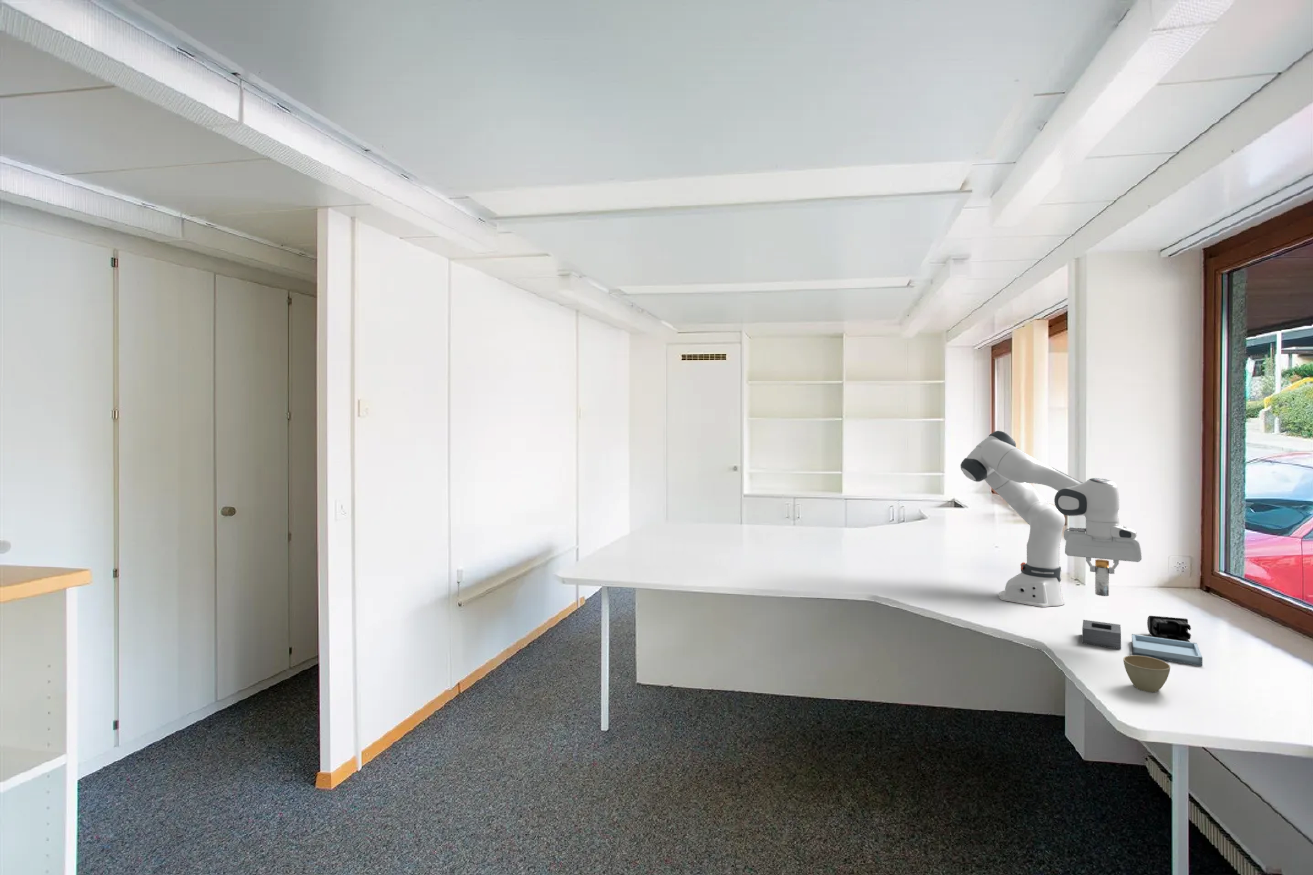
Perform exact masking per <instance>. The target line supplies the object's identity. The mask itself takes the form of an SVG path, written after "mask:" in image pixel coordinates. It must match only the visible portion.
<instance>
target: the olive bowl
mask: <svg viewBox="0 0 1313 875" xmlns="http://www.w3.org/2000/svg"><path fill="white" fill-rule="evenodd" d="M1123 665H1124V669H1125V672H1126V674H1127V677H1128V679H1129V680H1130V681H1131V683H1132V685H1133V686H1134V688H1136V689H1137V690H1139V691H1143V692H1146V693H1157V692H1159V691H1160V690H1161V689H1162V688H1163V687H1164V685H1165V684H1166V682H1167V679H1168V678H1169V674H1170V671H1171V665H1170V664H1169V663H1168V662H1166V661H1165V660H1160V659H1156V658H1152V657H1147V656H1139V655H1133V654H1130V655H1125V656H1124V657H1123Z"/></svg>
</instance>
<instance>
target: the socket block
mask: <svg viewBox="0 0 1313 875" xmlns="http://www.w3.org/2000/svg"><path fill="white" fill-rule="evenodd" d="M1081 629H1082V631H1081V632H1082V635H1081V637H1082V640H1081V641H1082V644H1083V645H1090V646H1096V647H1097V646H1098V647H1102V648H1110V649H1116V650H1121V649H1122V631H1121V630H1122V629H1121V624H1118V623H1111V622H1104V621H1096V620H1088V619H1082V628H1081Z"/></svg>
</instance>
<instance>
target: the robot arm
mask: <svg viewBox="0 0 1313 875" xmlns="http://www.w3.org/2000/svg"><path fill="white" fill-rule="evenodd" d="M959 467H960V470H961V472H962V474H963V475H964V476H965V477H966V478H968V479H970V480H972V481H973V482H976V483H978V482H982V481H985V482H986V484H988V486H989V487H990V488H992V490H993V491H994V492H995V493H997V494H998V495H999V496H1000V498H1002V499H1003V500H1004V501H1005V502H1006V503H1007V504H1008V505H1009V506H1010V507H1011V508H1012V509H1013V511H1015V512H1016V513H1017V515H1019V516H1020V517H1021V518H1022V520H1023V521H1025V523H1026V524H1028V525H1029V526H1030V527H1029V535H1028V540H1027V542H1026V562H1024V561H1023V562H1021V563H1020V573H1018V574H1016V575H1015V576H1013V577H1011V578H1009V579H1008V580H1007V582H1006V583H1005V587H1004V590H1002V591H1000V592H999V593H998V599H1000V600H1001V601H1007V602H1010V603H1011V602H1012V603H1017V604H1022V605H1024V604H1025V605H1027V606H1028V605H1029V606H1035V607H1038V608H1039V607H1040V608H1045V607H1046V608H1047V607H1058V606H1063V605H1065V604H1066V602H1065V599H1064V596H1063V593H1062V586H1061V585H1062V584H1061V580H1062V567H1061V564H1060V563H1061V562H1060V560H1061V559H1060V558H1061V557H1060V556H1061V555H1060V554H1061V553H1060V552H1061V551H1060V550H1061V542H1062V537H1063V538H1064V540H1065V546H1064V554H1065V555H1067V556H1068V557H1077V558H1085V562H1086V563H1087V565H1088V566H1089V572H1091V573H1095V565H1093V564H1092V563H1091V561H1092V559H1102V560H1108V561H1112V562H1113V564H1112V566H1109V575H1115V569H1116V568H1117V567H1118V566H1119V564H1120V563H1119V562H1120V561H1121V562H1132V563H1139V562H1141V561H1142V548H1141V545H1140V541H1139V539H1138V538H1137V536H1138V535H1137V532H1136V530H1135V529H1134V528H1130V527H1127V526H1124V525H1121V524H1120V519H1119V514H1118V513H1119V510H1120V494H1119V488H1118V486H1117V484H1116V483H1115V482H1114V481H1112V480H1109V479H1106V478H1097V477H1092V478H1088V479H1087V480H1086V481H1084V482H1082V481H1080V480H1079V479H1076V478H1074V477H1072V476H1071V475H1068V474H1066V473H1064V472H1063V471H1060V470H1058V469H1057V468H1054V467H1052V466H1050V465H1047V464H1046V463H1044V462H1042V461H1040V460H1038V459H1036V458H1035V457H1033V456H1031V455H1030V454H1028V453H1026V452H1025V451H1023V450H1021V449H1019V448H1018V447H1017V443H1016V441H1015V440H1014V438H1012V436H1011V435H1010V434H1008V433H1006V432H1004V431H1001V430H996V431H993V432H991V433H990V434H989V435H988V436H987V437H986V438H984V439H983V440H982V441H980V442H979V443H978V444H977V445H976V446H975V447H974V449H972V451H971V452H970V453H969V454H968V455H967V457H965V458H963V460H962V461H961V463H960V466H959ZM1032 484H1037V485H1044V486H1046V487H1049V488H1051V489H1054V490H1056V491H1057V492H1056V494H1055V496H1054V499H1053V500H1054V504H1051V503H1049V502H1048V501H1047V500H1046V499H1045V498H1044V497H1043V496H1042V495H1041V494H1040V493H1039V492H1038V491H1037V489H1035V488H1034V486H1033V485H1032ZM1065 516H1068V517H1078V516H1084V517H1085V527H1083V528H1082V527H1068V528H1066V529H1065V530H1064V531H1063V529H1064V526H1065V523H1066V517H1065Z"/></svg>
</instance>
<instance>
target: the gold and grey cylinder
mask: <svg viewBox="0 0 1313 875" xmlns="http://www.w3.org/2000/svg"><path fill="white" fill-rule="evenodd" d="M1094 562H1095V563H1094V564H1095V565H1094V566H1095V572H1094V580H1095V581H1094V583H1095V584H1094V586H1095V587H1094V589H1095V590H1094V593H1095V595H1096V596H1099V597H1100V596H1101V597H1109V596H1110V574H1109V567H1110V560H1109V559H1098V558H1095V561H1094Z"/></svg>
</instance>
